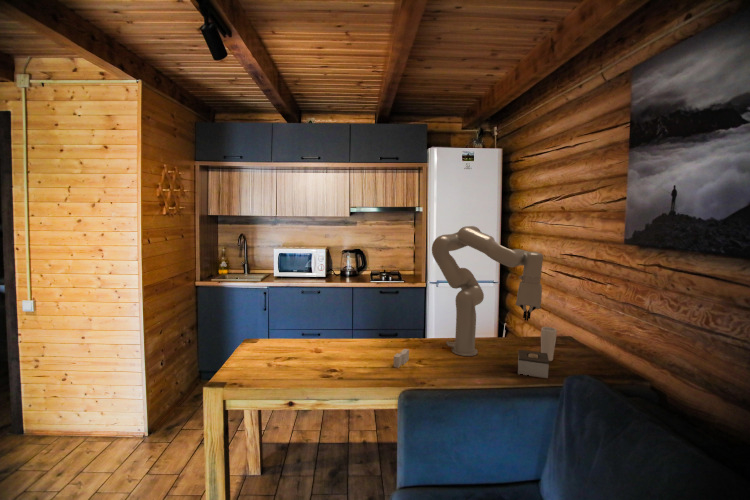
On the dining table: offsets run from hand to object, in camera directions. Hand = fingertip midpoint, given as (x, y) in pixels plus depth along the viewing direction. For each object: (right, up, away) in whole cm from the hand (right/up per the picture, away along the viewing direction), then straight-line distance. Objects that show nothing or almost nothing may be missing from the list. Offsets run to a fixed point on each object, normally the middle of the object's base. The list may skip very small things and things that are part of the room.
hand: (526, 319), depth 188 cm
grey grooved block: (-57, -21, +2) cm, 60 cm away
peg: (+1, -21, -3) cm, 21 cm away
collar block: (+2, -22, -3) cm, 22 cm away
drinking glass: (+14, -21, +12) cm, 28 cm away
